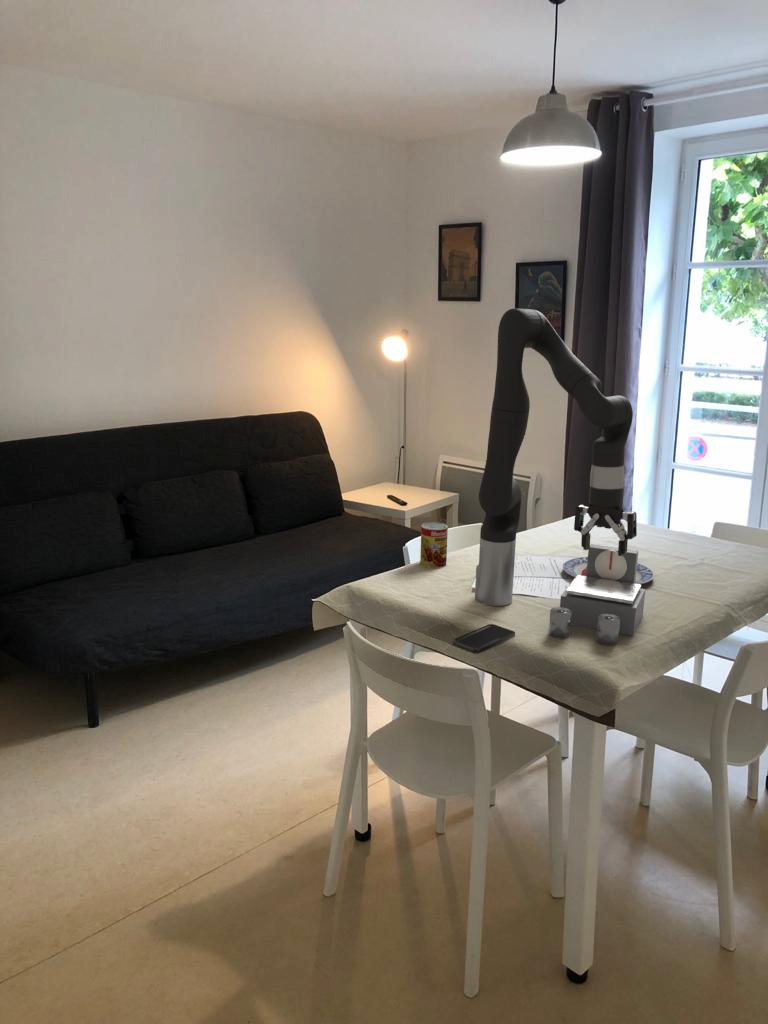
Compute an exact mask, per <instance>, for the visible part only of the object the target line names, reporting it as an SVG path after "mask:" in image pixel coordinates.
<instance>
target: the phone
mask: <svg viewBox="0 0 768 1024" xmlns="http://www.w3.org/2000/svg"><path fill="white" fill-rule="evenodd" d="M515 636H516V632H515V631H514V630H511V629H509V628H506V627H503V626H499V625H496V624H494V623H490V624H486V625H483V626H482V627H479V628H476V629H475V630H472V631H470V632H467V633H465V634H462V635H461V636H459V637H456V638H453V641H452V642H453V644H454V645H455V646H457V647H461V648H463V649H464V650H465V649H466V650H468V651H471V652H473V653H482V652H484V651H486V650H489V649H490V648H493V647H495V646H497V645H499V644H502V643H503V642H505V641H508V640H510V639H512V638H514V637H515Z"/></svg>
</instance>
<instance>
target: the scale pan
mask: <svg viewBox="0 0 768 1024" xmlns="http://www.w3.org/2000/svg"><path fill="white" fill-rule="evenodd" d="M574 578H575V577H574ZM574 578H573V579H574ZM572 581H573V580H572ZM572 581H571V582H572ZM571 582H570V583H571ZM570 583H569V585H570V586H569V585H568V586H569V587H568V586H567V587H568V588H567V587H566V588H567V590H566V589H565V590H566V593H568V594H574V595H580V596H586V597H592V598H599V599H605V600H611V601H617V602H623V603H629V604H633V602H634V600H635V598H636V597H637V595H638V593H639V591H640V589H642V584H633V583H627V582H620V581H613V580H607V579H600V578H594V577H587V576H581V575H577V577H576V578H575V579H574V581H573V582H572V583H571V584H570Z"/></svg>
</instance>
